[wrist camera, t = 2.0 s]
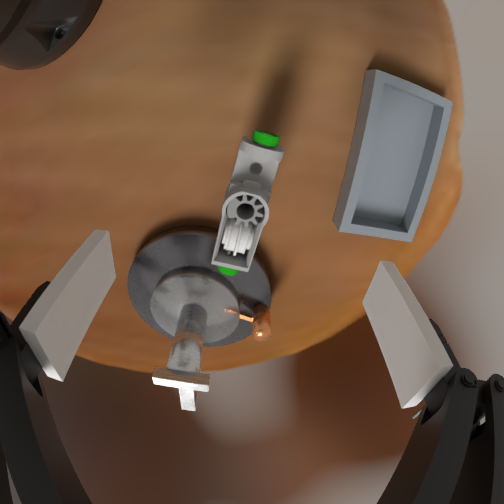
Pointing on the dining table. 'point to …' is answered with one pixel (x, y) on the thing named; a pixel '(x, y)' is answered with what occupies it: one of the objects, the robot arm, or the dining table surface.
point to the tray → (391, 158)
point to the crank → (192, 324)
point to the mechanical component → (247, 202)
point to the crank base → (200, 254)
